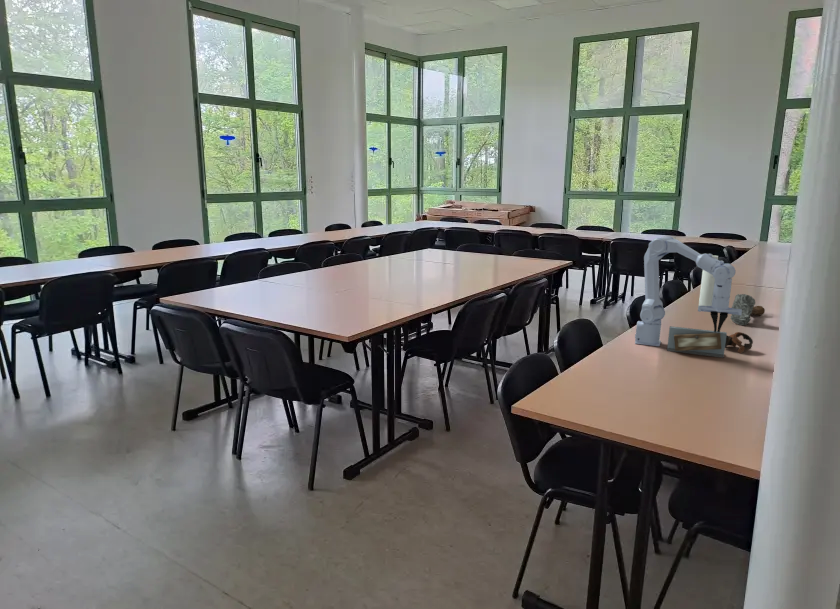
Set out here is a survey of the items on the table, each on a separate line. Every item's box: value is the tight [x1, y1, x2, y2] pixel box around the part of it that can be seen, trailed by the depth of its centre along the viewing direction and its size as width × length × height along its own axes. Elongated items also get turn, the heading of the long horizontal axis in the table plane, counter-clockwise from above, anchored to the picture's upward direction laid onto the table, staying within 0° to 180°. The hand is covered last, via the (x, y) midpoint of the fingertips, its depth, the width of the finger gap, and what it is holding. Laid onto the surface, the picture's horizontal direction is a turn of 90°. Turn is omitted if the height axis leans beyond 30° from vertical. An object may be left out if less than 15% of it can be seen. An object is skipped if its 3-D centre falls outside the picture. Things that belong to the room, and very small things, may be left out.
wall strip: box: [666, 326, 728, 358], centre depth 223 cm, size 20×5×10 cm, turn 64°
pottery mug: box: [725, 331, 754, 354], centre depth 227 cm, size 12×10×8 cm
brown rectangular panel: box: [674, 333, 721, 351], centre depth 219 cm, size 16×3×6 cm, turn 64°
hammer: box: [730, 293, 766, 326], centre depth 274 cm, size 15×10×30 cm
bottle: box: [698, 254, 719, 306], centre depth 295 cm, size 8×8×28 cm
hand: (716, 331), depth 215 cm, fingers closed
